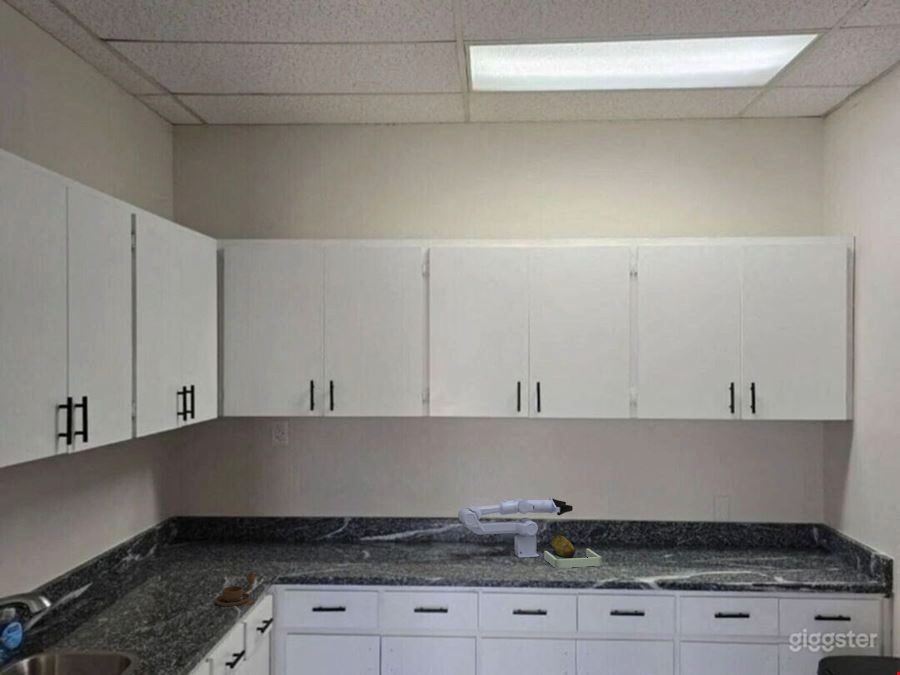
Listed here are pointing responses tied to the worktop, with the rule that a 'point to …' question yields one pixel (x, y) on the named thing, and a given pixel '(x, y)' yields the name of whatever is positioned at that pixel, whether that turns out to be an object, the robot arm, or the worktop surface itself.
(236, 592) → the place setting
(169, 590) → the worktop surface
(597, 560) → the pale green rail frame
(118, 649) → the worktop surface
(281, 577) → the worktop surface
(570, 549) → the potato
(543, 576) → the worktop surface
